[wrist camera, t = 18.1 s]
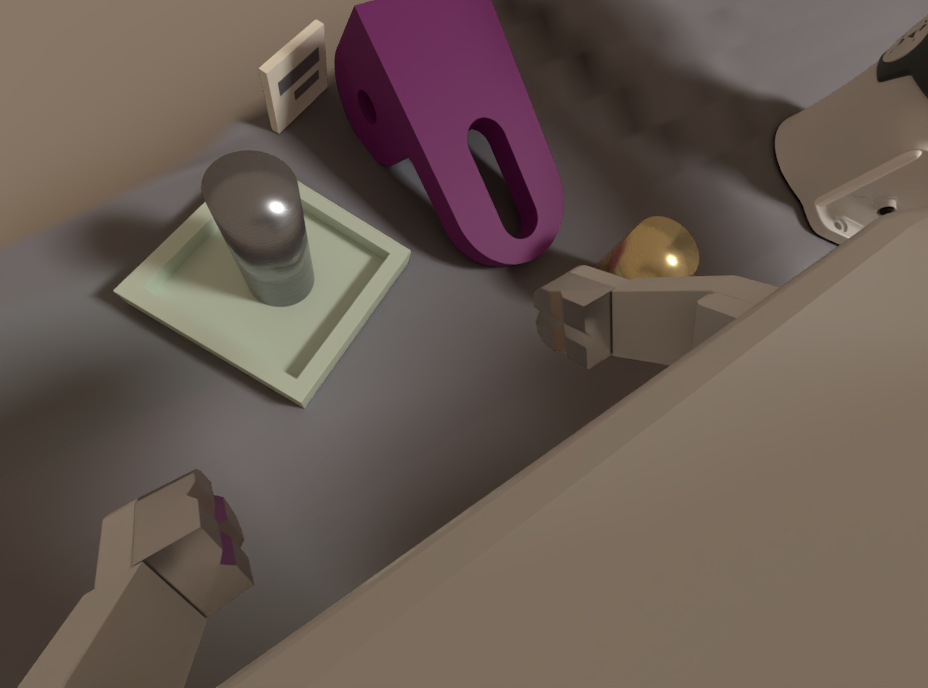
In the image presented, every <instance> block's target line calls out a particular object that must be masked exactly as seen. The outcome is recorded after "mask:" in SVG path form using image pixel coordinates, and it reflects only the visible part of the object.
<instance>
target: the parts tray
mask: <svg viewBox="0 0 928 688" xmlns="http://www.w3.org/2000/svg"><path fill="white" fill-rule="evenodd" d="M297 182H298V187H299V192H300V198H301V204H302V209H303V215H304V220H305V226H306V232H307V237H308V243H309V248H310V254H311V260H312V265H313V271H314V285H313V288H312V290H311V292H310V293H309V295H308V296H307V297H306V298H305V299H303V300H302V301H301V302H299V303H297V304H294V305H291V306H287V307H274V306H270V305H267V304H264V303H262V302H261V301H259V300H258V299H257V298H255V297H254V295H253V294H252V293H251V291H250V289H249V287H248V285H247V283H246V282H245V280H244V278H243V276H242V274H241V272H240V270H239V268H238V266H237V264H236V262H235V260H234V258H233V256H232V254H231V252H230V250H229V248H228V246H227V244H226V242H225V240H224V238H223V236H222V234H221V232H220V230H219V228H218V226H217V224H216V222H215V220H214V218H213V216H212V214H211V212H210V210H209V208H208V206H207V204H206V202H204V203H203V204H202V205H201V206H200V207H199V208H198V209H197V210H196V211H195V212H194V213H193V214H192V215H191V216H190V217H189V218H188V219H187V220H186V221H185V222H184V223H183V224H182V225H181V226H180V227H179V228H177V229H176V230H175V231H174V232H173V233H172V234H171V235H170V236H169V237H168V238H167V239H166V240H165V241H164V242H163V243H162V244H161V245H160V246H159V247H158V248H157V249H156V250H155V251H154V252H153V253H152V254H150V255H149V256H148V257H147V258H146V259H145V260H144V261H143V262H142V263H141V264H140V265H139V266H138V267H137V268H136V269H135V270H134V271H133V272H132V273H131V274H130V275H129V276H128V277H127V278H126V279H125V280H124V281H122V282H121V283H120V284H119V285H118V286H117V287H116V288H115V289H114V290H113V291H114V292H115V293H116V294H117V295H118V296H119V297H121V298H122V299H123V300H124V301H125V302H127V303H128V304H129V305H131V306H133V307H134V308H136V309H138V310H139V311H141V312H143V313H144V314H146V315H148V316H149V317H151V318H153V319H155V320H156V321H158V322H160V323H161V324H163V325H165V326H166V327H168V328H170V329H171V330H173V331H175V332H176V333H178V334H180V335H181V336H183V337H185V338H186V339H188V340H190V341H192V342H193V343H195V344H197V345H198V346H200V347H202V348H203V349H205V350H207V351H208V352H210V353H212V354H213V355H215V356H217V357H218V358H220V359H222V360H223V361H225V362H227V363H228V364H230V365H232V366H234V367H235V368H237V369H239V370H240V371H242V372H244V373H245V374H247V375H249V376H250V377H252V378H254V379H255V380H257V381H259V382H260V383H262V384H264V385H265V386H267V387H269V388H271V389H272V390H274V391H276V392H277V393H279V394H281V395H282V396H284V397H286V398H287V399H289V400H291V401H292V402H294V403H296V404H297V405H299V406H301V407H302V408H304V409H305V407H306V406H307V404H308V403H309V402H310V400H311V399H312V397H313V396H314V395H315V393H316V392H317V390H318V389H319V388H320V386H321V385H322V383H323V382H324V381H325V379H326V378H327V376H328V375H329V374H330V372H331V371H332V369H333V368H334V367H335V365H336V364H337V362H338V361H339V360H340V358H341V357H342V355H343V354H344V353H345V351H346V350H347V348H348V347H349V346H350V344H351V343H352V341H353V340H354V339H355V337H356V336H357V334H358V333H359V332H360V330H361V329H362V327H363V326H364V325H365V323H366V322H367V320H368V319H369V318H370V316H371V315H372V313H373V312H374V311H375V309H376V308H377V306H378V305H379V304H380V302H381V301H382V299H383V298H384V297H385V295H386V294H387V292H388V291H389V290H390V288H391V287H392V285H393V284H394V283H395V281H396V280H397V278H398V277H399V276H400V274H401V273H402V271H403V270H404V269H405V267H406V266H407V264H408V261H409V257H410V253H411V250H409V249H407V248H406V247H404V246H402V245H401V244H399V243H398V242H396V241H394V240H393V239H391V238H389V237H388V236H386V235H385V234H383V233H381V232H380V231H378V230H376V229H375V228H373V227H372V226H370V225H368V224H367V223H365V222H364V221H362V220H360V219H359V218H357V217H355V216H354V215H352V214H351V213H349V212H347V211H346V210H344V209H342V208H341V207H339V206H338V205H336V204H334V203H333V202H331V201H329V200H328V199H326V198H325V197H323V196H321V195H320V194H318V193H316V192H315V191H313V190H312V189H310V188H308V187H307V186H305V185H303V184H302V183H300V182H299V181H297Z"/></svg>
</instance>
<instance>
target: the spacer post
mask: <svg viewBox="0 0 928 688" xmlns="http://www.w3.org/2000/svg"><path fill="white" fill-rule="evenodd" d="M201 190H202V195H203V198H204V200H205V202H206V204H207V206H208V208H209V210H210V212H211V214H212V216H213V218H214V220H215V222H216V224H217V226H218V228H219V230H220V232H221V234H222V236H223V238H224V240H225V242H226V244H227V246H228V248H229V250H230V252H231V254H232V256H233V258H234V260H235V262H236V264H237V266H238V268H239V270H240V272H241V274H242V276H243V278H244V280H245V282H246V283H247V285H248V287H249V289H250V291H251V293H252V294H253V295H254V297H255V298H257V299H258V300H259V301H261V302H262V303H264V304H267V305H270V306H274V307H287V306H291V305H294V304H297V303H299V302H301V301H302V300H303V299H305V298H306V297H307V296H308V295H309V293H310V292H311V290H312V288H313V285H314V271H313V265H312V260H311V254H310V248H309V243H308V237H307V232H306V226H305V220H304V215H303V209H302V204H301V198H300V192H299V187H298V182H297V179H296V176H295V174H294V173H293V171H292V170H291V169H290V168H289V166H288V165H287V164H285V163H284V162H283V161H281V160H280V159H278V158H277V157H275V156H272V155H270V154H267V153H264V152H259V151H237V152H233V153H230V154H227V155H224V156H222V157H220V158H219V159H217V160H216V161H215V162H213V163H212V164H211V165H210V166H209V167H208V169H207V170H206V172H205V174H204V176H203V179H202V184H201Z"/></svg>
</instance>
